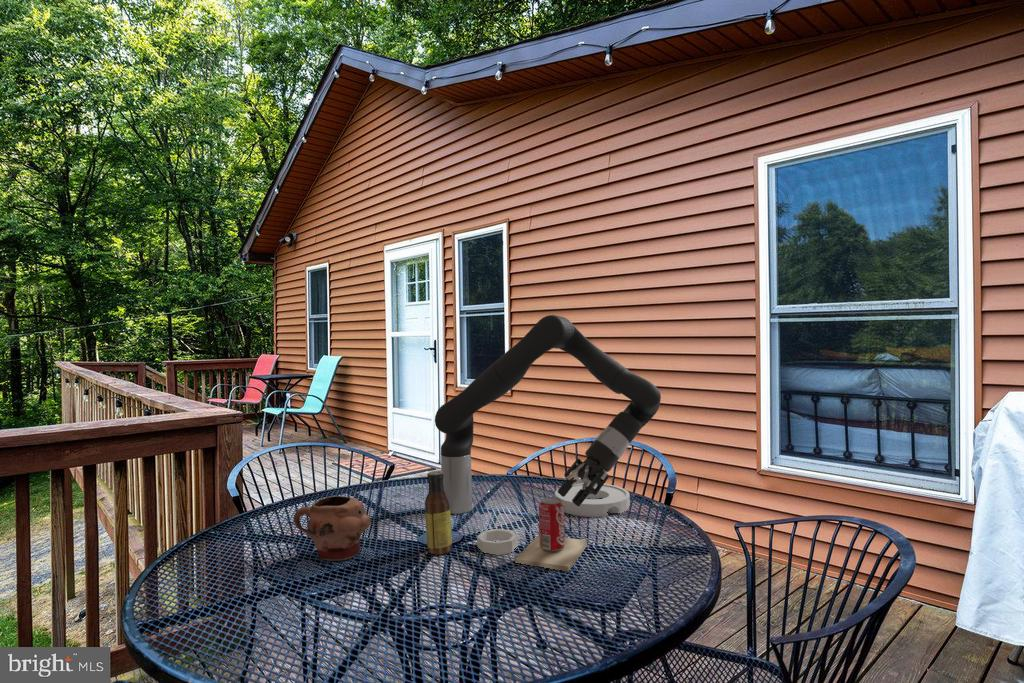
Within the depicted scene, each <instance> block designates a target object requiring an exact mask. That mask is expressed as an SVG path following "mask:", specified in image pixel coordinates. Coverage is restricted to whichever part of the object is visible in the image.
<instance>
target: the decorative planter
mask: <svg viewBox="0 0 1024 683" xmlns="http://www.w3.org/2000/svg"><path fill="white" fill-rule="evenodd" d="M302 516H306V517H308V522H307V525H306V526H307V527H306V528H307V529H306V528H304V527H303V526H302V525H301V523H300V520H301V517H302ZM292 519H293V523H294V526H295V528H297V529H298V530H300V531H301V532H303V533H304V534H305V535H306V536H308V537H309V538H310V539H311V540H312V541H313V543H314V545H315V548H316V551H317V555H318V558H319V559H321V560H324V561H332V562H333V561H345V560H348V559H352V558H354V557H355V556H357V555H358V554H359V553H360V550H361V538H360V537H361V535H362V533H363V532H364V531H366V530H367V529H369V527H370V526H371V524H372V519H371V517H370V516H369V515H368V514H367V513H366V510H365V506H364V504H363V502H361V501H360V500H358V499H357V498H355V497H352V496H351V497H350V496H343V495H342V496H341V495H335V496H334V495H333V496H332V495H331V496H327V497H324V498H321V499H318V500H316V501H314V503H313V504H311V506H303V507H299V509H296V511H295V512H294V514H293V517H292Z"/></svg>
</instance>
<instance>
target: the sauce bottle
mask: <svg viewBox="0 0 1024 683" xmlns="http://www.w3.org/2000/svg"><path fill="white" fill-rule="evenodd" d="M443 478H444V474H443V472H441V471H440V470H433V471H429V472H427V480H428V493H427V495H426V497H425V500H424V506H425V510H424V512H425V513H424V514H425V517H424V518H425V531H426V533H425V534H426V547H427V552H428V554H432V555H434V556H441V555H445V554H449V553H450V552H451V551H452V548H453V547H452V543H453V537H452V536H453V534H452V518H451V514H450V505H449V502H448V499H447V497H446V494H445V491H444V485H443Z"/></svg>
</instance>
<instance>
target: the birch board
mask: <svg viewBox="0 0 1024 683" xmlns="http://www.w3.org/2000/svg"><path fill="white" fill-rule="evenodd" d="M587 546H588V540H587V539H579V538H578V539H577V538H569V537H565V546H564V548H562V549H561V550H559V551H554V552H551V551H546V550H544V549H543V548H541V547H540V541H539V534H538V535H537V536H536V537H535V538H534V539H533V540H532V541H531V542H530V543H529V544H528V545H527V546H526V547H525V548H524V549H523V551H521V552H520V553H519V555H518V556H517V557H516V558H515V559H514V562H515V563H521V564H527V565H532V566H539V567H544V568H543V569H546V568H550V569H549V570H553V569H555V570H556V571H560V570H562V571H561V572H567V571H569V572H570V570H571V568H573V566H574V564H575V563H577V560H578V559H579V558H580V556H581V554H582V553H583V552H584V550H585V549H586V548H587ZM532 566H531V567H532ZM539 567H538V568H539ZM555 570H554V571H555Z"/></svg>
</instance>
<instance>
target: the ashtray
mask: <svg viewBox="0 0 1024 683" xmlns="http://www.w3.org/2000/svg"><path fill="white" fill-rule="evenodd" d="M583 483H584V482H578V483H576V484H574V485H572V488H571V489H570V490H569V491H568V493H567V494H566V495H565V496H564V497H563V496H561V495H560V494H559V493H558V489H559V488H556V490H555V492H554V497H556V498H560V499H561V500H562V503H563V505H564V514H569V515H572V516H580V517H586V518H587V517H588V518H589V517H590V518H598V517H599V518H600V517H602V518H604V517H608V516H609V514H613V513H618V514H617V515H620V514H619V513H621V514H623V513H625V512H627V511H628V510H629V509H630V508H629V506H630V505H631V502H630V500H631V499H630V498H631V496H630V492H629V491H628V490H627V489H625V488H623V487H620V486H618V485H612V484H608V483H604V485H603V486H602V487H601V489H600V490H599V492H598V493H597V494H596V495H594V494H591V495H588V496H587V497H586V498H603V499H585V500H584V501H583V502H582V504H581V505H580V506H576V505H575V504H574V503H573V502H572V499H573V498H574V497H575V496H576V494H577V493H578V492H579V491H580V489H582V487H583ZM596 487H597V484H596ZM596 487H595V488H596ZM582 490H583V489H582ZM628 508H629V509H628ZM627 509H628V510H627ZM626 510H627V511H626ZM624 511H625V512H624ZM607 512H608V513H607ZM622 512H623V513H622Z"/></svg>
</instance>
